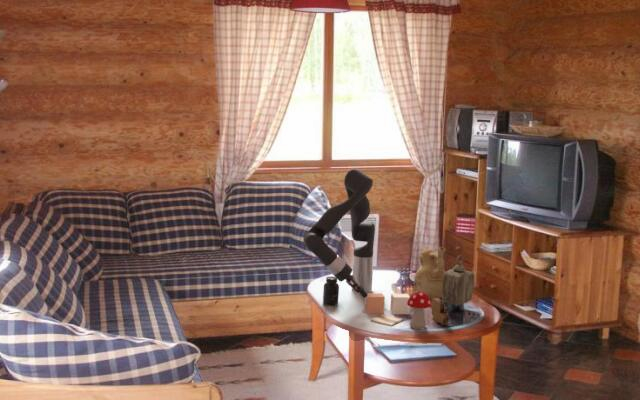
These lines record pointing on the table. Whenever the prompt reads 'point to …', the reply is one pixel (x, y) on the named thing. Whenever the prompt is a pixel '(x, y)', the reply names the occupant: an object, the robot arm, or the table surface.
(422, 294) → the decorative mushroom
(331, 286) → the supplement bottle
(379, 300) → the peach rectangular brick
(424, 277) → the tan upright figure
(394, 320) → the birch coaster
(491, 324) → the table surface
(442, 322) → the wooden carving
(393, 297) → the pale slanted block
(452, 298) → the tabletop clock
